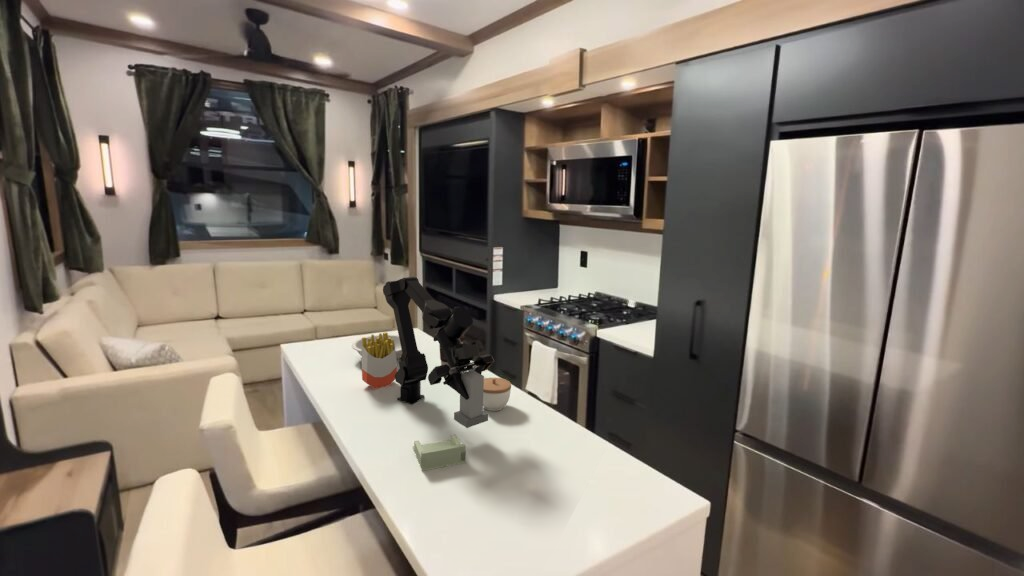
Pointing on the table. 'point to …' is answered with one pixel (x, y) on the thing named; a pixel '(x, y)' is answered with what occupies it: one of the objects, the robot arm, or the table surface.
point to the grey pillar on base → (471, 401)
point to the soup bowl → (357, 344)
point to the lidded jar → (495, 393)
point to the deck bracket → (440, 453)
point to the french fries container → (378, 361)
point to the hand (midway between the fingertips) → (474, 397)
